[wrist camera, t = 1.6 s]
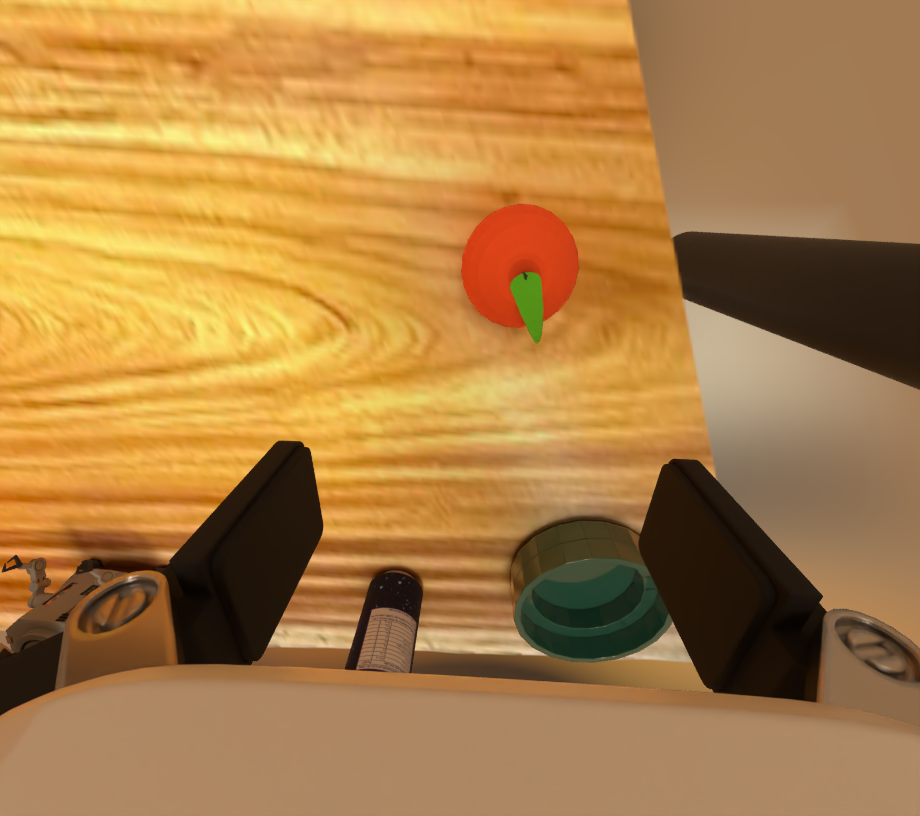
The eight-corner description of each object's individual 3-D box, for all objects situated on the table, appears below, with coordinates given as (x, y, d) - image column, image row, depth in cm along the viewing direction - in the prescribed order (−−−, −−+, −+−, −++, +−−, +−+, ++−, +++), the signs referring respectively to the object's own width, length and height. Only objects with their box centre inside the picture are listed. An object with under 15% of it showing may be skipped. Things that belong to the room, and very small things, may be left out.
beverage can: (362, 572, 40) (320, 700, 30) (410, 559, 39) (385, 688, 28) (385, 606, 43) (354, 736, 32) (432, 595, 41) (416, 726, 31)
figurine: (157, 525, 38) (-15, 688, 25) (183, 600, 44) (52, 770, 30) (67, 516, 38) (-153, 675, 25) (104, 592, 44) (-63, 758, 30)
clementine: (576, 311, 27) (606, 339, 21) (483, 339, 29) (485, 373, 22) (553, 189, 24) (581, 179, 18) (449, 227, 25) (440, 229, 19)
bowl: (644, 501, 35) (668, 543, 30) (659, 602, 40) (681, 650, 36) (493, 533, 37) (496, 576, 33) (528, 624, 43) (534, 671, 38)
